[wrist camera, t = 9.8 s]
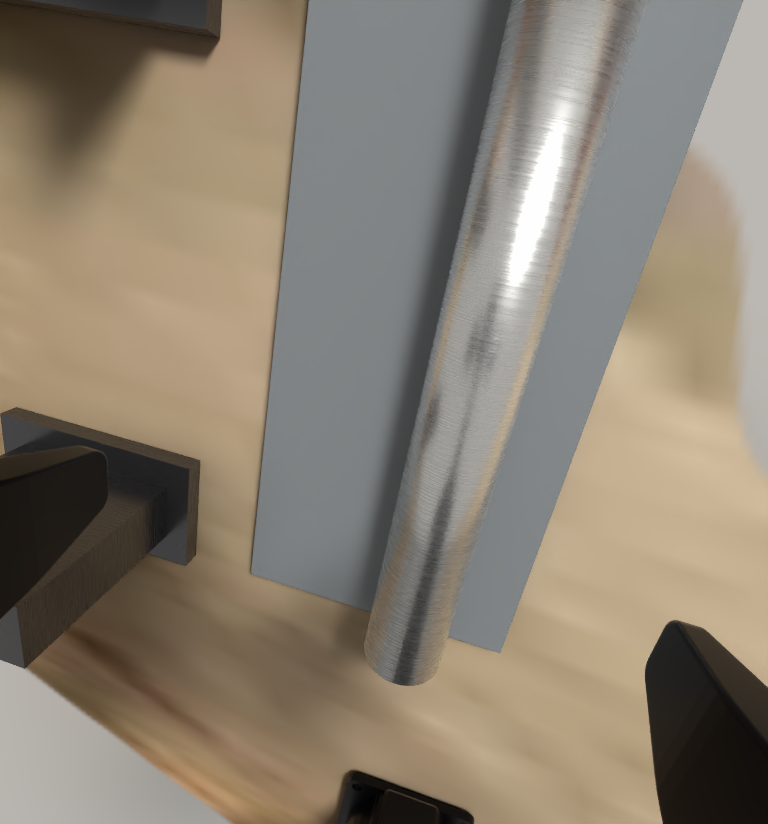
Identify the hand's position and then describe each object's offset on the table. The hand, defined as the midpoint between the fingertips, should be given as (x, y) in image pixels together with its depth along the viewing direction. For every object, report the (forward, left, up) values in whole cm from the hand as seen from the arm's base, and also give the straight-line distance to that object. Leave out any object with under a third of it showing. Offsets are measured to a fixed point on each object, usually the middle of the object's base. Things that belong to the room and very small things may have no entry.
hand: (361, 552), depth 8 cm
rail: (+1, -1, -9) cm, 9 cm away
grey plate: (+1, +1, -11) cm, 11 cm away
